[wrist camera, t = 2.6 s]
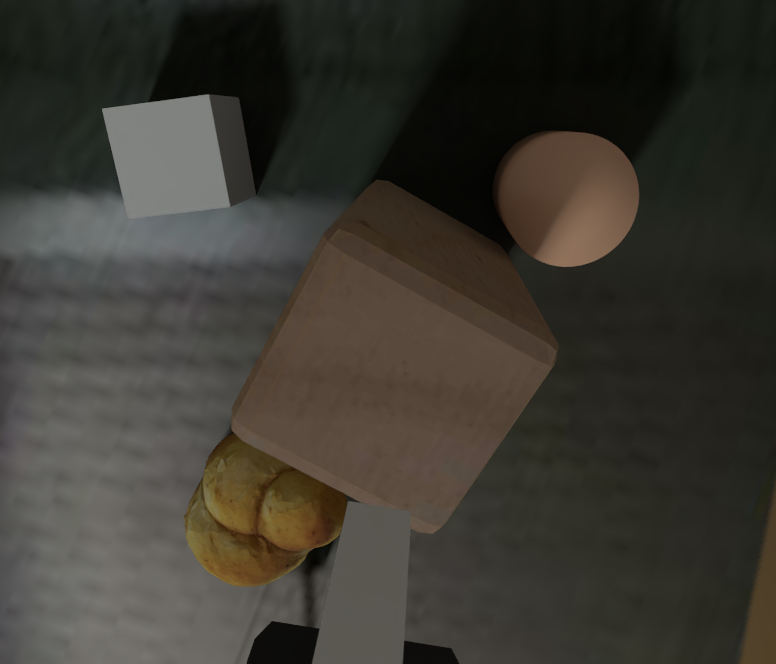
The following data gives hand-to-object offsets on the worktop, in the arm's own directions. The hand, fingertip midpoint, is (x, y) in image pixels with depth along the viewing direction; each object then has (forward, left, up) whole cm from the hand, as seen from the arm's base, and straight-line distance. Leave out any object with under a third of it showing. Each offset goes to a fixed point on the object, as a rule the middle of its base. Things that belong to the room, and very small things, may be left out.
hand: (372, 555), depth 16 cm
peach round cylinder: (+8, +7, -30) cm, 32 cm away
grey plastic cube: (-14, +6, -30) cm, 34 cm away
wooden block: (0, 0, -30) cm, 30 cm away
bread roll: (-8, -18, -30) cm, 36 cm away
